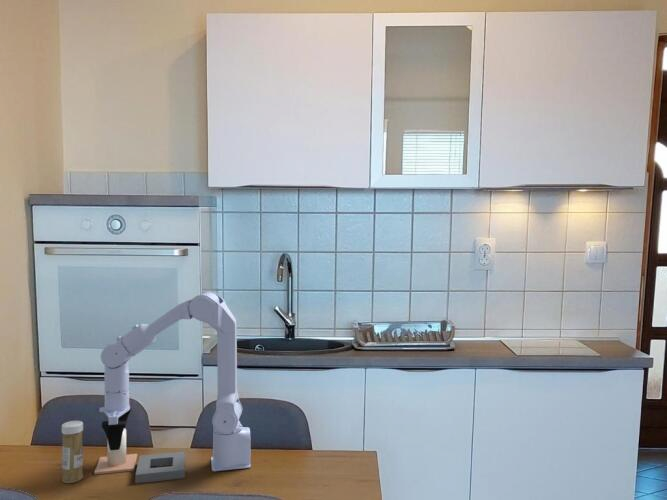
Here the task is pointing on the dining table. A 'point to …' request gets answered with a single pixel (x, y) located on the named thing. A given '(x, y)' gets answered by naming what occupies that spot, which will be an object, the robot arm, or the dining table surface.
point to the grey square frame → (160, 473)
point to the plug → (117, 453)
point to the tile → (105, 468)
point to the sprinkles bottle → (72, 451)
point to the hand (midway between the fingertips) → (117, 443)
